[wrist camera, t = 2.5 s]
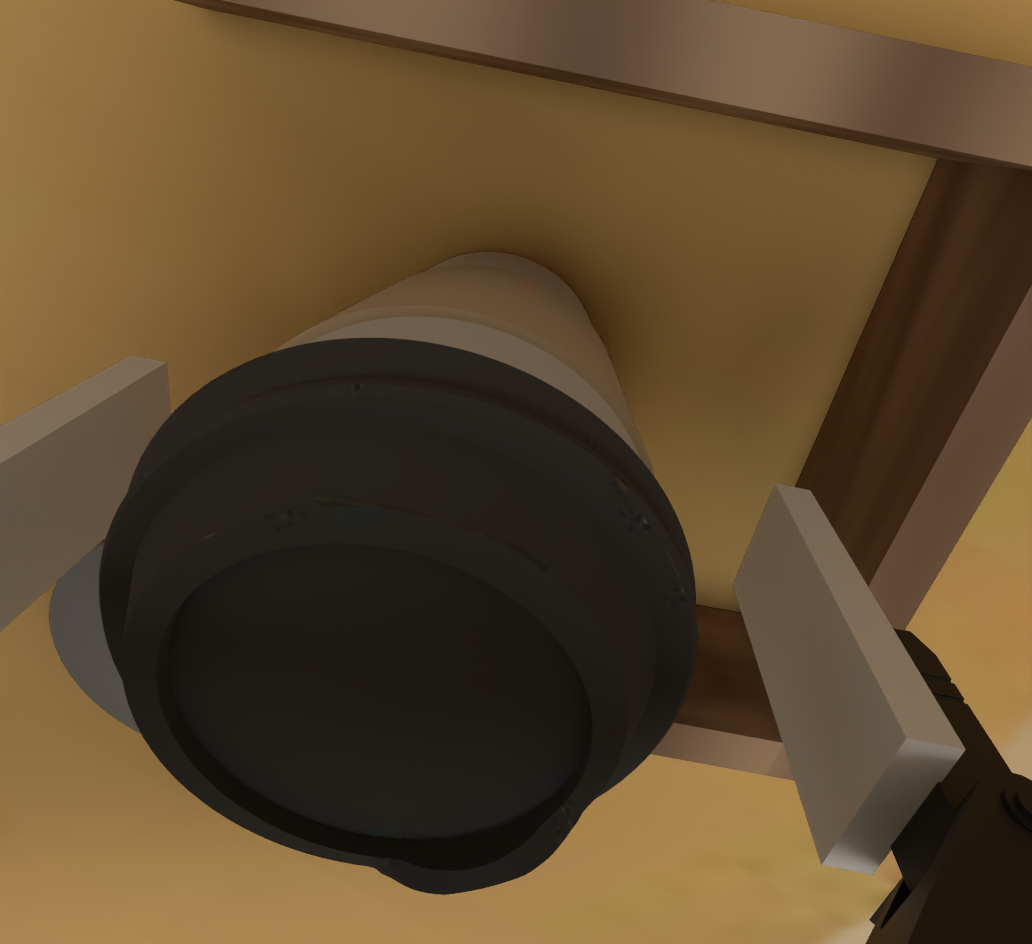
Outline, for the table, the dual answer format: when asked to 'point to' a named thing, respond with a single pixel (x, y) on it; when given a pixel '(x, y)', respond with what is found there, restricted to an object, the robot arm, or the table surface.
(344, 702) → the coffee cup
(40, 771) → the table surface
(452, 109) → the table surface
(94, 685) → the coaster
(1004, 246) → the brown rectangular open frame
